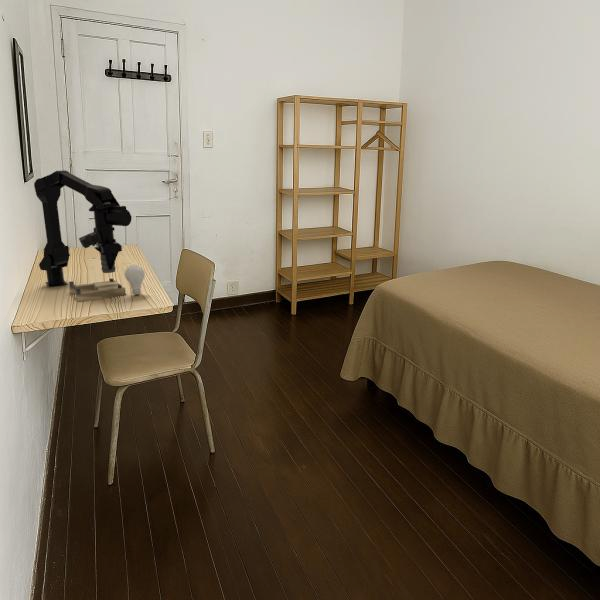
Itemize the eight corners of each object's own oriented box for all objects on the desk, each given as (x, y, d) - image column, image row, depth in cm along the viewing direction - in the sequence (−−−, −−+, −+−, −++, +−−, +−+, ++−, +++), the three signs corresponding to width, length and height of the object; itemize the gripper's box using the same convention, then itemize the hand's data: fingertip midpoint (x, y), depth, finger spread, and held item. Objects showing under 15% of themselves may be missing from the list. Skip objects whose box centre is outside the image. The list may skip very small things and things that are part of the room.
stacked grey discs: (100, 271, 190) (98, 254, 188) (113, 269, 192) (112, 253, 191) (103, 273, 186) (101, 257, 184) (117, 272, 188) (115, 255, 187)
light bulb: (123, 295, 187) (120, 264, 184) (140, 291, 191) (138, 262, 188) (132, 299, 182) (129, 267, 179) (150, 295, 187) (147, 264, 184)
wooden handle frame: (70, 292, 190) (68, 281, 189) (115, 286, 199) (114, 275, 198) (78, 301, 179) (76, 289, 178) (125, 294, 188) (124, 283, 186)
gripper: (73, 223, 188) (79, 266, 192) (85, 229, 173) (91, 276, 177) (106, 220, 194) (110, 262, 198) (120, 227, 179) (124, 272, 183)
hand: (108, 268), depth 189 cm, fingers closed on stacked grey discs, 5 cm apart
